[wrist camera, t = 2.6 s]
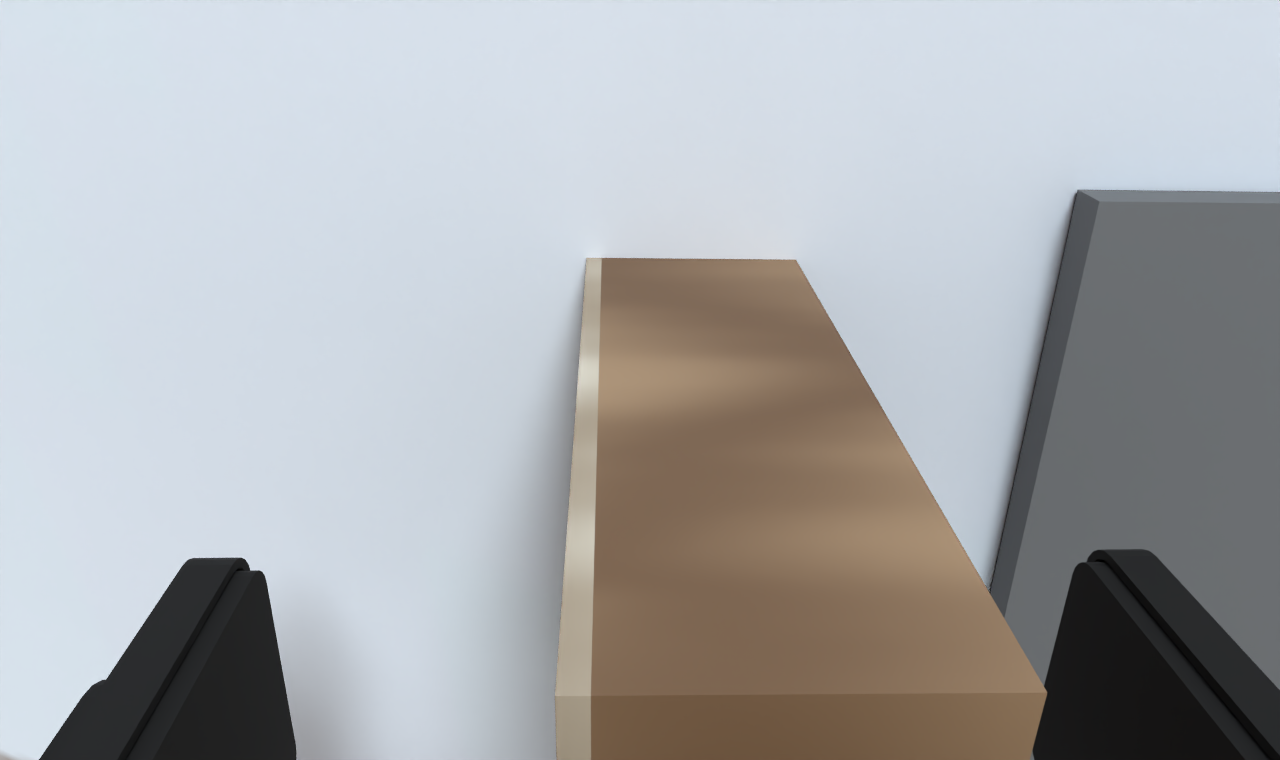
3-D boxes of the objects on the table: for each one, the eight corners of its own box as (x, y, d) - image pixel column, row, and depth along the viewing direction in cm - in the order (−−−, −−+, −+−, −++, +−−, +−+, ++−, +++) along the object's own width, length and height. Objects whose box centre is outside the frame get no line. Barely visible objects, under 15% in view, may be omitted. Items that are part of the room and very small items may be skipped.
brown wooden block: (795, 259, 13) (1046, 692, 5) (757, 665, 16) (887, 1297, 8) (586, 258, 12) (554, 696, 5) (588, 666, 15) (570, 1307, 8)
